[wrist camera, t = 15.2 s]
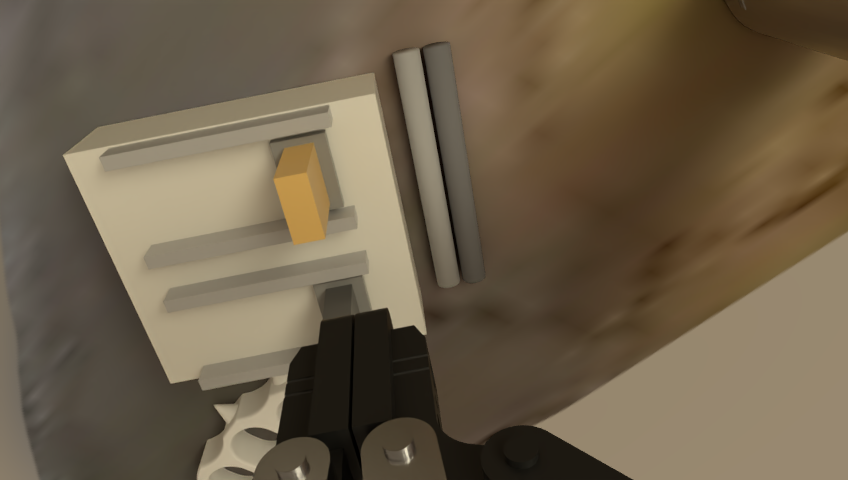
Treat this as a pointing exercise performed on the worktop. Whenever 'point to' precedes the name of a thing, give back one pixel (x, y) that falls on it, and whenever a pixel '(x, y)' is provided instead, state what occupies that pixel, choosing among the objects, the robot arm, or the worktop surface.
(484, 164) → the worktop surface
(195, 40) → the worktop surface
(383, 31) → the worktop surface
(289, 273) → the breaker housing
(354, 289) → the toggle
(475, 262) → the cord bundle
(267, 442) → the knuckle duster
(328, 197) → the breaker toggle
